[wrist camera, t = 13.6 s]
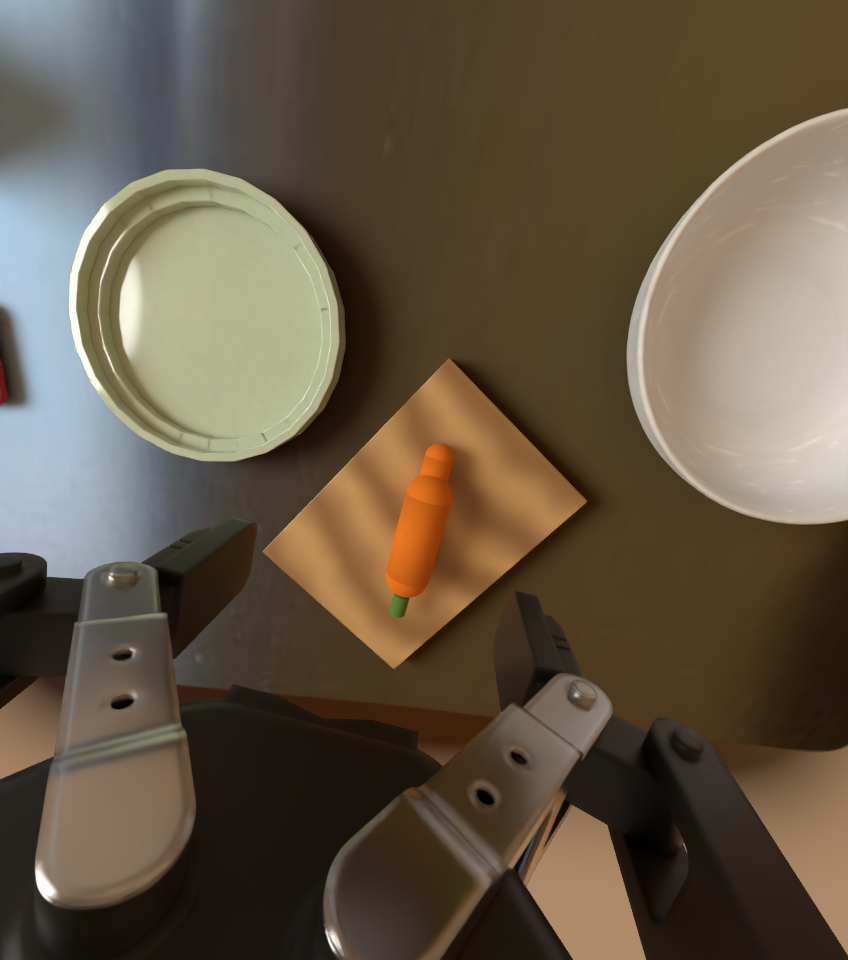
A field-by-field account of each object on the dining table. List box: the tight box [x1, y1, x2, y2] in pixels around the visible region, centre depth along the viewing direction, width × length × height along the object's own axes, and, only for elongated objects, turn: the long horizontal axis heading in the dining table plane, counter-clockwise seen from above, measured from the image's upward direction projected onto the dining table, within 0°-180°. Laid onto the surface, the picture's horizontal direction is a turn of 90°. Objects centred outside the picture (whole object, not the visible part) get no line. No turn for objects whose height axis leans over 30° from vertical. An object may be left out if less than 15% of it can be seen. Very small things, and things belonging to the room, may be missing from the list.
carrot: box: [385, 443, 454, 618], centre depth 30 cm, size 13×3×3 cm, turn 165°
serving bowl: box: [627, 108, 848, 524], centre depth 26 cm, size 21×21×7 cm
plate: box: [68, 169, 346, 461], centre depth 29 cm, size 18×18×2 cm
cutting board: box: [263, 358, 587, 669], centre depth 32 cm, size 20×14×2 cm
